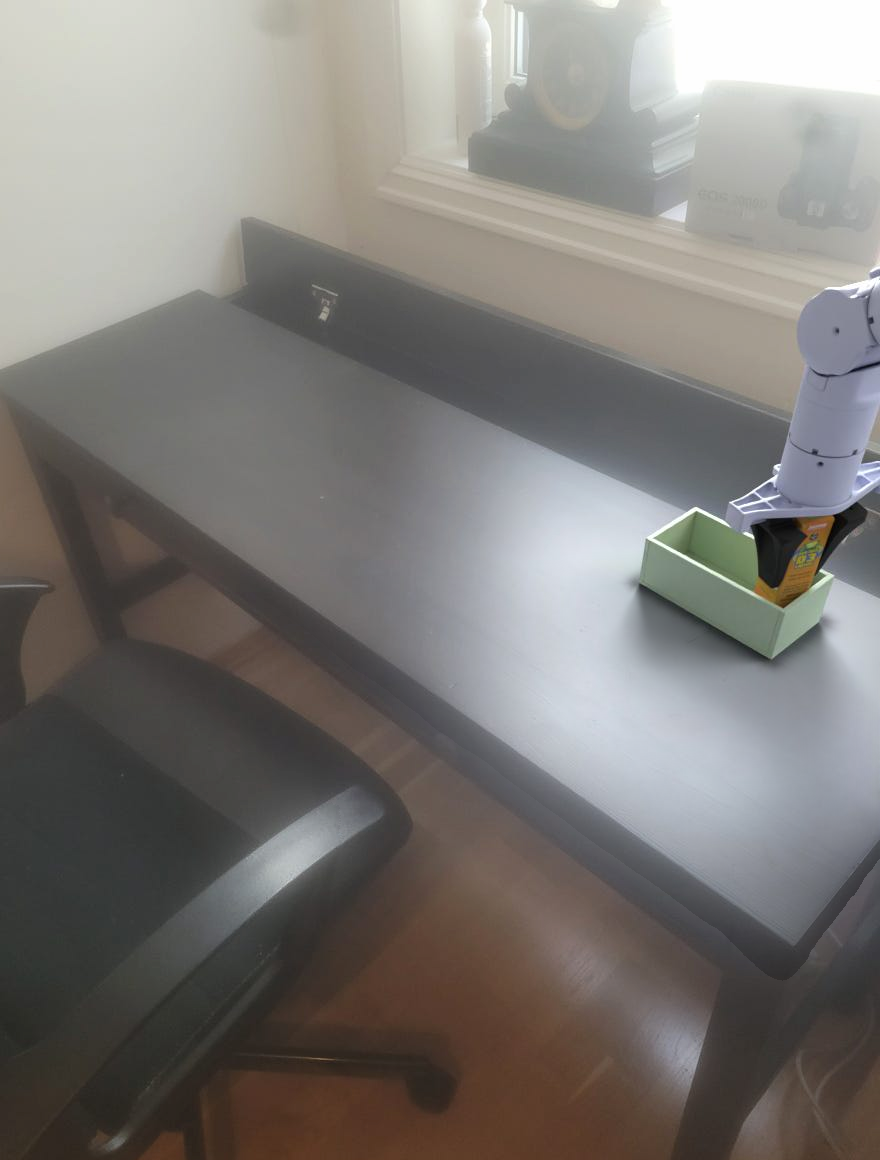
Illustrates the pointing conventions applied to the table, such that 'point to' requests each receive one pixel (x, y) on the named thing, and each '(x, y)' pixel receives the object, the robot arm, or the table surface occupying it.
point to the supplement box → (800, 562)
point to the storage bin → (726, 582)
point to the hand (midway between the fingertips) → (787, 575)
